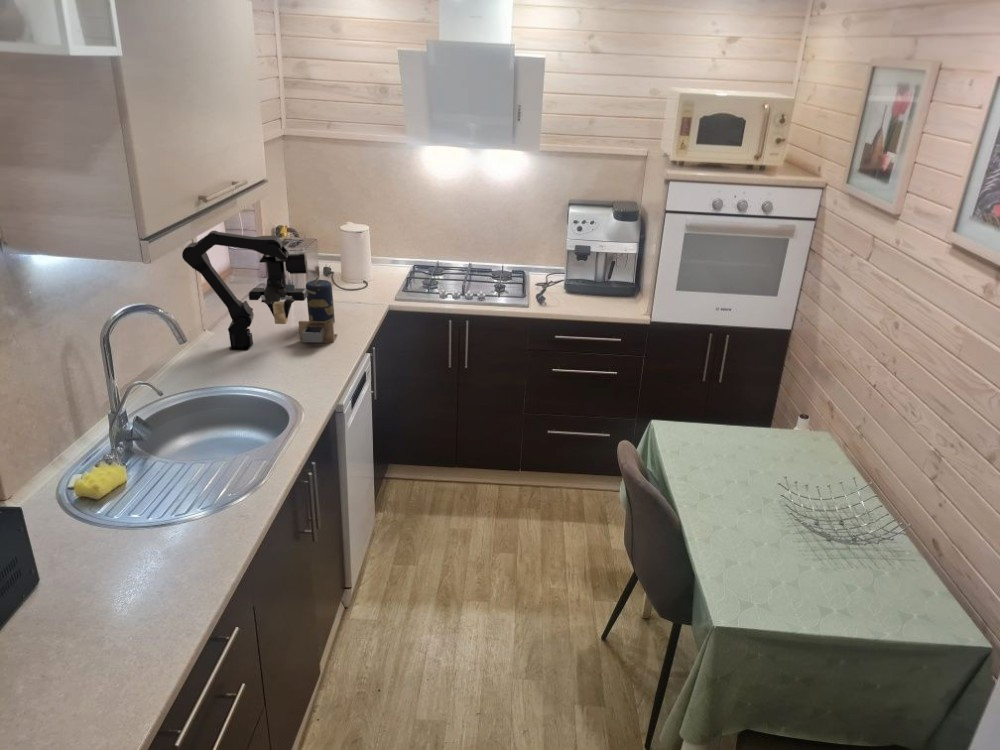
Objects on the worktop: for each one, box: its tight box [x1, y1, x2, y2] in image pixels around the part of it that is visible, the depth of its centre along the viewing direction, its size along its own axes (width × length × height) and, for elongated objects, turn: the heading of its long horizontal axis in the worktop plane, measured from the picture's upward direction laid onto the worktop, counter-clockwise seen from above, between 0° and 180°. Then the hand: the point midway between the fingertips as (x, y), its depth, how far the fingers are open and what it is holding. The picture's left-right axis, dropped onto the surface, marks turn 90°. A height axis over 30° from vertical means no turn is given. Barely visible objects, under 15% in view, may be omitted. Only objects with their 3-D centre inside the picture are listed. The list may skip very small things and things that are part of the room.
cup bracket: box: [298, 320, 338, 343], centre depth 249 cm, size 12×13×8 cm
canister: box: [305, 278, 336, 325], centre depth 263 cm, size 10×10×18 cm
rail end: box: [273, 300, 289, 325], centre depth 243 cm, size 4×4×7 cm
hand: (281, 317), depth 243 cm, fingers closed on rail end, 4 cm apart
